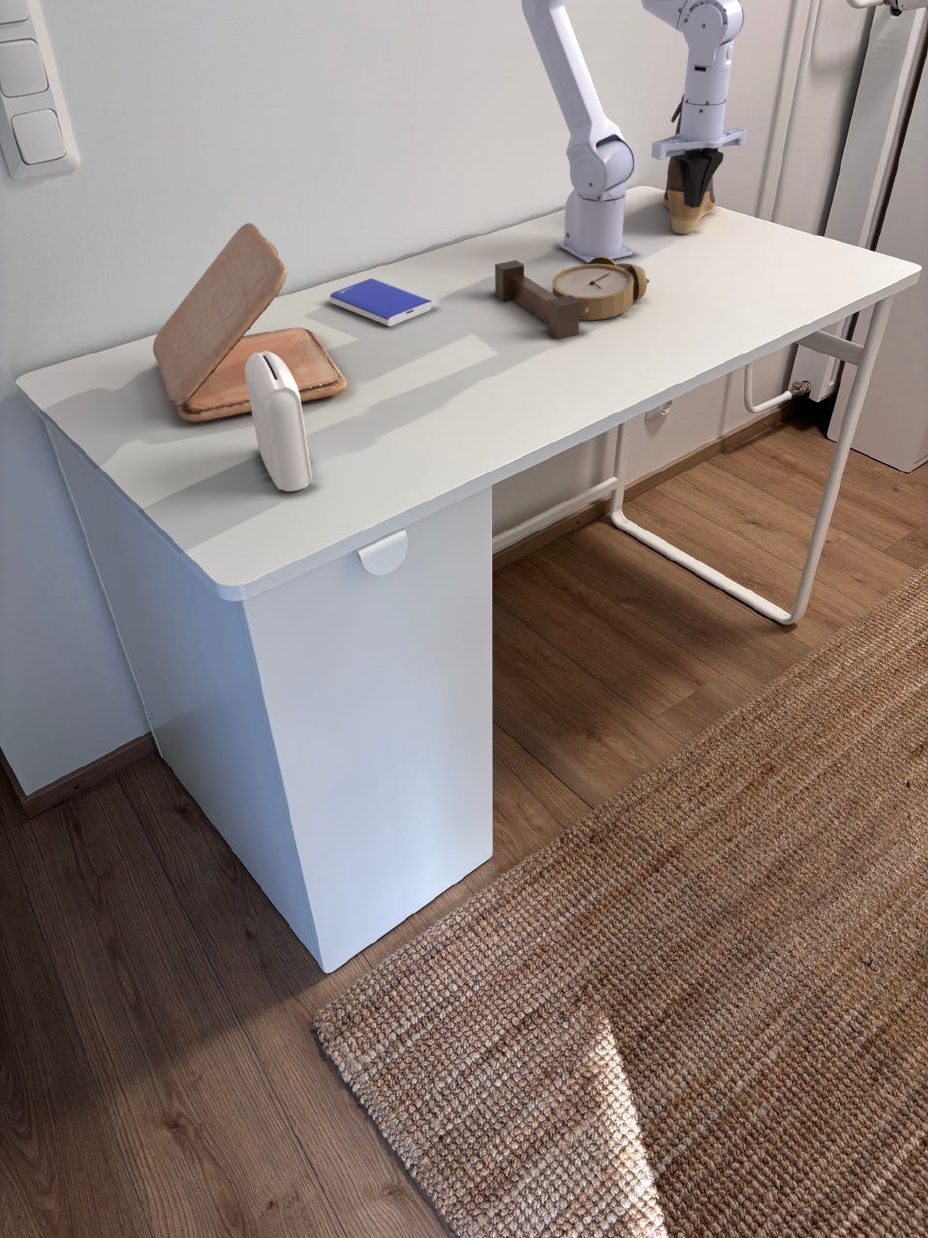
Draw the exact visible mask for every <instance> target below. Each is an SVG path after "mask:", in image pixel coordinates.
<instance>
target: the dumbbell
mask: <svg viewBox="0 0 928 1238" xmlns="http://www.w3.org/2000/svg"><path fill="white" fill-rule="evenodd" d="M494 281H495V282H494V292H495V293H494V295H495V296H496V297H497V298H498V299H499V300H501V301H502V302H503V301H508V300H513V301H514V302H515V303H518V304H519V305H520V306H522V307H523V308H524V309H526V310H528V311H529V312H530V313H532V314H533V315H534V316H536V317H538V318H539V319H540V320H542V321H543V322H544V323H546V324H547V334H548V335H550V336H552V338H554V339H556V340H559V339H563V338H567V337H572V336H576V335H579V333H580V332H579V331H580V319H579V315H580V301H579V300H578V299H576V298H574V297H573V296H571V295H569V296H565V297H560V298H558V297H556V296H555V295H553V292H550V291H549V290H547V289H545V288H544V287H543V286H541V285H539V284H538V283H537V282H535V281H533V279H530V278H529V277H527V276H526V275H525V265H524V264H523V263H521V262H519V260H517V259H515V260H510V261H505V262H500V263H494Z"/></svg>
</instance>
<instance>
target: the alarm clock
mask: <svg viewBox="0 0 928 1238" xmlns="http://www.w3.org/2000/svg"><path fill="white" fill-rule="evenodd" d="M551 283H552V294H553V295H555V296H556V297H558V298H560V297H565V296H569V295H571V296H573V297H574V298H576V299H578V300H579V301H580V315H579V320H582V321H583V320H584V321H595V320H596V321H597V320H605V319H610V318H614V317H616V316H619V315H621V314H624V313H625V312H627V311H628V310H629V309H631V308H632V305H633V304H634V302H635V301H638V300H640V299H642V298H643V297H644V295H645V294H646V292H647V288H648V284H649V283H650V279H649V278H647V275H646V272H645V270H644V268H643V267H641V266H639V265H637V264H632V263H626V262H625V263H622V262H620V263H619V262H618V263H616V262H615V260H614V259H610V258H609V257H605V256H598V257H596V258H594V259H592V260H591V261H590V262H589V263H585V264H580V265H574V266H571V267H569V268H566V269H563V270H562V271H560V272H558V273H557V274H556V275H555V276H554V277H553V278H552V281H551Z"/></svg>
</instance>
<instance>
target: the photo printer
mask: <svg viewBox="0 0 928 1238" xmlns="http://www.w3.org/2000/svg"><path fill="white" fill-rule="evenodd" d="M245 376H246V382H247V387H248V393H249V398H250V404H251V409H252V411H251V415H252V419H253V425H254V426H253V427H254V431H255V436H256V442H257V446H258V450H259V453H260V456H261V459H262V461H263V464H264V466H265V468H266V471H267V472H268V474H269V476H270V478H271V480H272V482H273V483H274V485H275V487H277V489H278V490H282V491H283V492H295V491H300V490H302V489H305V488H307V487H308V486H309V484H311V483H312V479H313V478H312V477H313V476H312V469H311V467H312V466H311V461H310V455H309V449H308V441H307V435H306V429H305V422H304V421H305V420H304V415H303V408H302V402H301V400H300V394H299V390H298V388H297V385H296V383H295V380H294V378H293V376H292V374H291V372H290V371H289V369H288V367H287V366H286V365H285V363H284V362H283V361H282V360H281V359H280V358H279V357H278V356H277V355H275V354H273V353H271V352H268V351H263V352H261V353H253V354H252V355H251V356H250V357H249V359H248V360H247V363H246V366H245Z"/></svg>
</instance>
